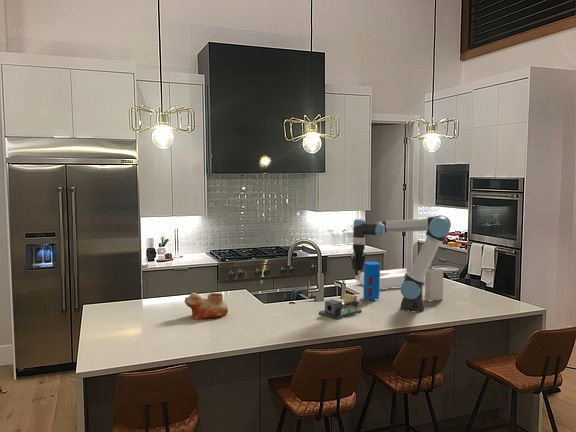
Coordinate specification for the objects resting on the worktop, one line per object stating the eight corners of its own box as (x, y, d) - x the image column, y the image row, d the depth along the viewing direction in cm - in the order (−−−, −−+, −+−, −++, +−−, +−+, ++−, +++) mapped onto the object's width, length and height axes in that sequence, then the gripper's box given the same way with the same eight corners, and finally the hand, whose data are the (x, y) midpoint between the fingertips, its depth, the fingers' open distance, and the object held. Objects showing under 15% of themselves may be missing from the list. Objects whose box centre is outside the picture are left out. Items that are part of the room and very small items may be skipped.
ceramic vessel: (182, 315, 319) (182, 291, 318) (225, 311, 329) (225, 287, 327) (186, 321, 306) (186, 296, 305) (230, 317, 316) (230, 293, 314)
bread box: (406, 280, 427) (406, 268, 426) (424, 285, 407) (424, 273, 406) (359, 284, 408) (359, 272, 407) (375, 291, 388) (375, 278, 387)
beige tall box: (442, 300, 364) (444, 264, 362) (429, 302, 359) (431, 265, 357) (435, 297, 371) (436, 262, 369) (422, 299, 366) (423, 263, 364)
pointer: (358, 309, 326) (358, 301, 326) (356, 309, 325) (356, 302, 325) (354, 308, 329) (354, 300, 328) (352, 308, 328) (352, 300, 327)
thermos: (362, 300, 360) (363, 263, 358) (364, 296, 371) (365, 261, 368) (378, 301, 357) (379, 265, 355) (380, 297, 367) (381, 262, 365)
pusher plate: (361, 309, 329) (361, 297, 328) (344, 314, 318) (344, 301, 318) (346, 305, 338) (347, 293, 337) (329, 310, 327) (329, 297, 326)
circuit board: (361, 312, 330) (362, 299, 329) (336, 319, 315) (337, 305, 314) (343, 307, 341) (344, 294, 340) (318, 313, 326) (319, 300, 325)
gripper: (360, 242, 342) (359, 277, 344) (347, 243, 333) (346, 280, 335) (370, 243, 336) (368, 279, 339) (356, 245, 327) (355, 282, 330)
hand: (357, 280), depth 337 cm, fingers closed
